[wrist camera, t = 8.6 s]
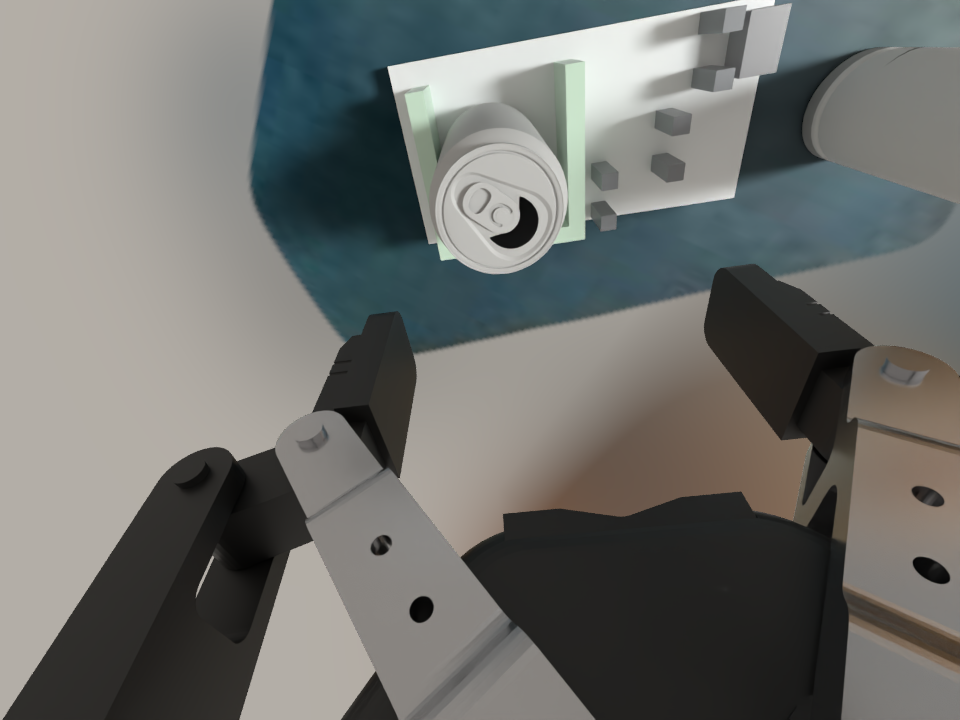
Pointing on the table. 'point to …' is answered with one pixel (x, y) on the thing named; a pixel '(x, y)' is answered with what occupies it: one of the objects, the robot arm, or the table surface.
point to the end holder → (567, 135)
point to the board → (624, 101)
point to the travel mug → (892, 117)
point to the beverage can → (497, 191)
